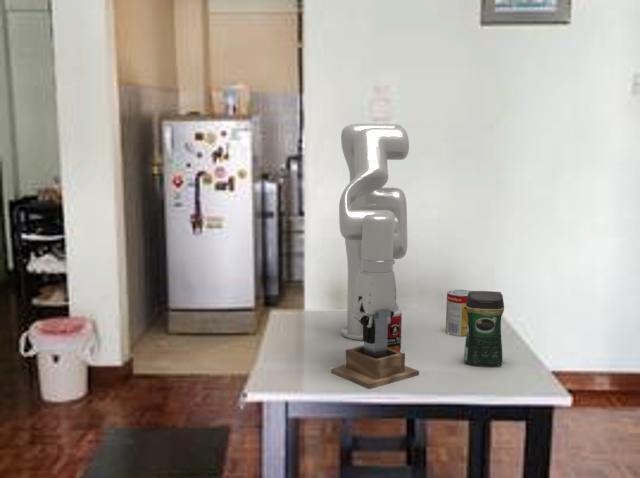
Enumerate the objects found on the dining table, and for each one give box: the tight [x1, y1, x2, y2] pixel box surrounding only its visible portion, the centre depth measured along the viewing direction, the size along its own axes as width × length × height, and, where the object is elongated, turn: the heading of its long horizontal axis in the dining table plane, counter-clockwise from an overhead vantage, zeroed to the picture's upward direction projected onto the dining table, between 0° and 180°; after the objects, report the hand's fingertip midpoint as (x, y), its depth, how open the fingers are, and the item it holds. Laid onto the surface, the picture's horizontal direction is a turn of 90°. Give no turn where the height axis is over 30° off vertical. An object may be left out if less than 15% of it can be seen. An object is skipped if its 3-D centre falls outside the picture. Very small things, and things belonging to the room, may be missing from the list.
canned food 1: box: [387, 308, 403, 352], centre depth 199 cm, size 8×8×11 cm
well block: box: [330, 345, 420, 390], centre depth 181 cm, size 16×14×6 cm
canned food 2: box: [445, 288, 470, 337], centre depth 216 cm, size 8×8×12 cm
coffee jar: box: [463, 290, 505, 367], centre depth 189 cm, size 10×8×19 cm
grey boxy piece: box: [363, 310, 391, 359], centre depth 179 cm, size 4×6×12 cm, turn 38°
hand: (375, 339), depth 180 cm, fingers closed on grey boxy piece, 4 cm apart
